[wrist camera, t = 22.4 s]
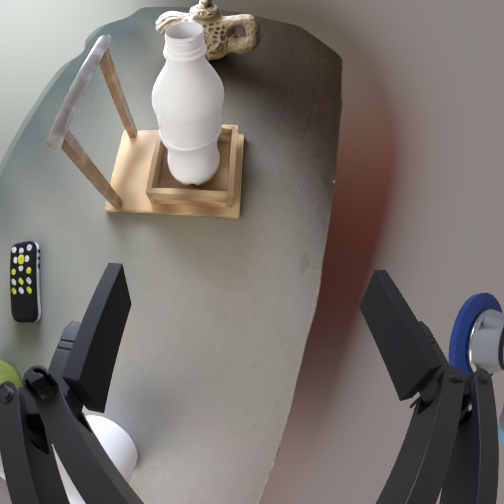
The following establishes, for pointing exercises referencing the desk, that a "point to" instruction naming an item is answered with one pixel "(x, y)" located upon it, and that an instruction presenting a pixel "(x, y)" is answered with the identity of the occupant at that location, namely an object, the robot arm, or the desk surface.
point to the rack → (147, 158)
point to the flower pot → (9, 374)
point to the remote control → (25, 282)
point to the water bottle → (189, 105)
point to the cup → (114, 445)
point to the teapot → (216, 29)
